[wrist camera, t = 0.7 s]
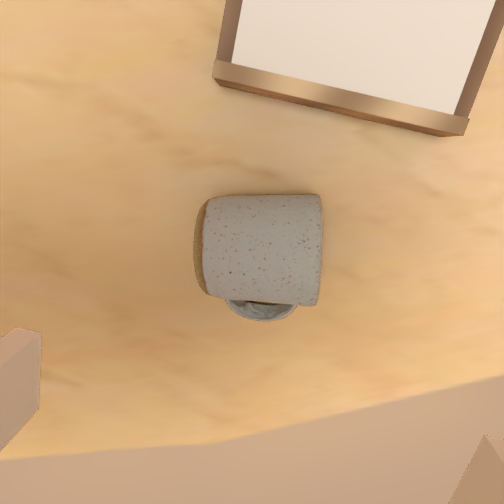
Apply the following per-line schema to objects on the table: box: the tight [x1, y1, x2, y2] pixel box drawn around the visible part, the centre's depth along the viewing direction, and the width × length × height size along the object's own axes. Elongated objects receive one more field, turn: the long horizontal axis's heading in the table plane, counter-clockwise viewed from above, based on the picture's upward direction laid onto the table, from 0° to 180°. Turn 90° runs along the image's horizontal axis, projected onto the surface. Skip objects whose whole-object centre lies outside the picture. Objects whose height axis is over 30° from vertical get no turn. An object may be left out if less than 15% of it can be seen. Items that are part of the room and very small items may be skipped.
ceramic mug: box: [194, 194, 323, 321], centre depth 25 cm, size 11×8×8 cm
